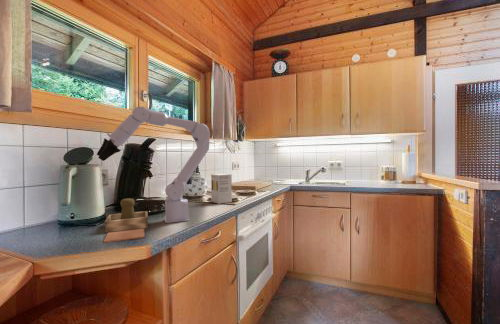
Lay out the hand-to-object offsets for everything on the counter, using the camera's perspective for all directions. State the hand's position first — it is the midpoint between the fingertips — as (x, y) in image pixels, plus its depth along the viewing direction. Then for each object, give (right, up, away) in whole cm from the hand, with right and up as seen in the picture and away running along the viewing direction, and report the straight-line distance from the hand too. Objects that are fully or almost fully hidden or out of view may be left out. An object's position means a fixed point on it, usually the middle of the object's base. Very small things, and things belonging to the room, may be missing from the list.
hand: (99, 157), depth 97 cm
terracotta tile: (+15, -27, -10) cm, 33 cm away
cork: (+9, -28, +3) cm, 29 cm away
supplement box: (+41, -26, +55) cm, 73 cm away
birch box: (+9, -27, +3) cm, 29 cm away
